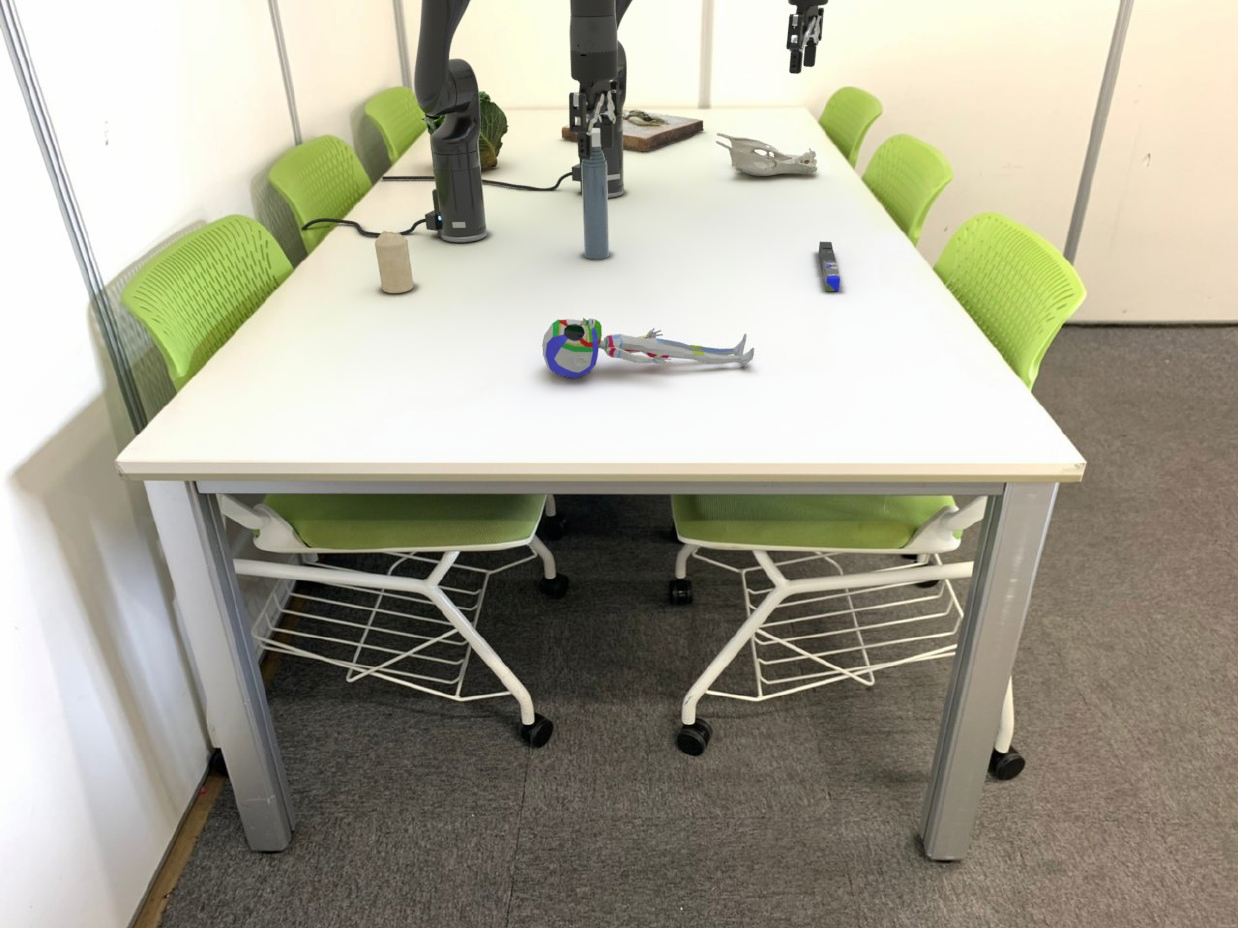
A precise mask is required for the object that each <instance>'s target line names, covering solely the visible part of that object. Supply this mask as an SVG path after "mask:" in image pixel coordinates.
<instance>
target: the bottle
mask: <svg viewBox="0 0 1238 928" xmlns="http://www.w3.org/2000/svg"><path fill="white" fill-rule="evenodd" d="M581 171H582V194H581V196H582V199H581V200H582V219H583V220H582V222H583V249H584V250H583V252H584V253H583V254H584V258H586V259H588V260H597V261H598V260H604V259H606V258H609V256H610V241H609V240H610V239H609V237H610V236H609V235H610V233H609V198H608V186H607V163H606V160H605V156H604V153H602V149H601V146H598V147H592V158H590V159H583V160H582V164H581Z"/></svg>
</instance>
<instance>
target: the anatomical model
mask: <svg viewBox="0 0 1238 928" xmlns="http://www.w3.org/2000/svg"><path fill="white" fill-rule="evenodd" d="M716 136H717V137H722V138H725V139H727V140H729V141H730V143H731V144H730V145H731V146H730V145H727V144H725V143H724V142H721V141H718V140H715V143H716V144H717V145H719V146H721V147H723V148H725V149H727V150H728V151H729V156H730V159H731V167H732V168H733V167H734V168H736V169H735V170H736V171H738V172H739V173H743V172H744V173H746V174H748V175H750V176H752V177H753V176H754V177H769V176H774V175H779V174H801V175H803V174H804V175H807V174H812V173H817V171H818V167H817V164H818V161H817V158H816V156H817V155H816V154H817V153H816V151H815V150H812V149H811V147H809V148H808V149H809V150H808V151H809V152H804V153H803V154H801V155H799V154H789V153H788V154H787V153H783V152H781V151H779V150H778V148H776V147H774V145H772V144H771V145H770V144H769V143H765V142H764V141H761V140H758V139H753V138H749V137H742V136H733V135H729V134H725V133H722V132H721V133H720V132H717V133H716ZM757 150H759V151H764V152H765V153H766V154H765V155H763V154H760V153H758V152H756V151H757ZM770 153H772V154H773V156H772V155H771V154H770ZM815 158H816V159H815Z"/></svg>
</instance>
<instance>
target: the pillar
mask: <svg viewBox="0 0 1238 928" xmlns="http://www.w3.org/2000/svg"><path fill="white" fill-rule="evenodd" d="M818 246H819V247H818V257H819V263H820V267H821V273H822V277H823V284H824V288H825V291H826V292H839V290H840V282H841V278H840V273H839V269H838V264H837V259H836V256H835V252H834V247H833V242H832V241H819V245H818Z"/></svg>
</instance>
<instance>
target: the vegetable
mask: <svg viewBox="0 0 1238 928" xmlns="http://www.w3.org/2000/svg"><path fill="white" fill-rule="evenodd" d="M479 100H480V123H481V131H480V136H479V140H478V146H479V156H480V166H481V167H489V168H494V169H495V168H497V165H498V162H499V161H498V157H499V155H500V152H501V149H502V148H503V144H504V143H503V142H502V138H503V137H504V135H506V134H507V133H508V130H509V129H508V128H509V127H510V126H509V125H508V119H507V116H506V114H505V112H504V111H503V110H502V109H501V108H500V107H499V105H498V104H497V103H496V102H495V101H492V98H491V96H490V95H489V94H488V93H486V91H485V90H479ZM445 116H446V115H441V116H429V115H427V114H425V113H424V116H422V117H421V118H420V120H421V121H424V122H425V123H426V127H427V128H426V129H427V133H428V134H429V138H430V137H431V135H432V134H433V133H434V132H435V131H436V130H437V129H438V128H439V127H440V126H441V125H442V124H443V122H444V120H445Z"/></svg>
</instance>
